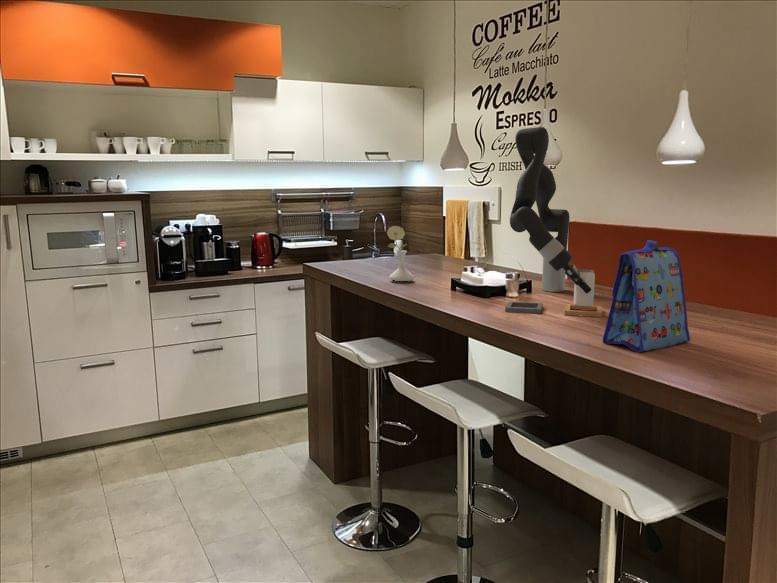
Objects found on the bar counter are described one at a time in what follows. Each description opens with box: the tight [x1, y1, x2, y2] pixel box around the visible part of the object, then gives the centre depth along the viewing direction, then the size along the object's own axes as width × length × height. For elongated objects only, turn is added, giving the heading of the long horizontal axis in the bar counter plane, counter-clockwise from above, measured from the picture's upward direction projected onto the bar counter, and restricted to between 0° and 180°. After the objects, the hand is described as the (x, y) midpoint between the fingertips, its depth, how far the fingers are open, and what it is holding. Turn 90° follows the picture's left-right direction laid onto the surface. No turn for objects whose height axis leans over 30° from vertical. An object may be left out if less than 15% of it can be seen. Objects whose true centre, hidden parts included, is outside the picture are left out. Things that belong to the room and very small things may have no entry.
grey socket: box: [504, 300, 544, 314], centre depth 229 cm, size 12×12×2 cm
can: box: [573, 268, 596, 307], centre depth 221 cm, size 6×6×12 cm
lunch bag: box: [602, 239, 691, 353], centre depth 179 cm, size 22×14×29 cm, turn 123°
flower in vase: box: [386, 225, 415, 282], centre depth 288 cm, size 13×11×25 cm
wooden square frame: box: [564, 303, 603, 318], centre depth 223 cm, size 12×12×2 cm
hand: (589, 290), depth 221 cm, fingers closed on can, 6 cm apart
